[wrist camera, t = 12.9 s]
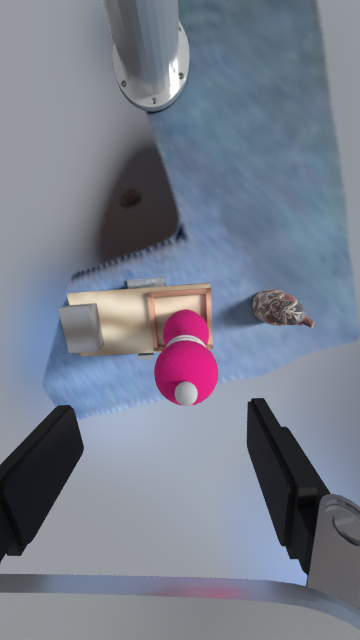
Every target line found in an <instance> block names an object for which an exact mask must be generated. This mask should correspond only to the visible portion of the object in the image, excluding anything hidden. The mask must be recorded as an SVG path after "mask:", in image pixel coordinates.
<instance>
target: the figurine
mask: <svg viewBox="0 0 360 640" xmlns="http://www.w3.org/2000/svg"><path fill="white" fill-rule="evenodd" d="M252 305H253V306H252V311H253V313H254V315H255V316H256V317H257V318H259V319H260V320H262V321H263V322H266V323H268V324H271V325H276V326H281V325H296V324H298V325H303V324H304V325H306V326H309V327H313V326H314V324H315V322H314V321H312V320H311V319H309V318H308V317H307V315H306V310H305V308H304V307H303V306H302V305H301V304H299V303H298V302H297V300H296V299H295V298H294V297H293V296H292V295H290V294H287V293H284V292H283V291H281V290H278V289H270V290H263V291H260V292H259V293H258V294H257V295H256V296H255V297H254V298H253V304H252Z"/></svg>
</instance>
